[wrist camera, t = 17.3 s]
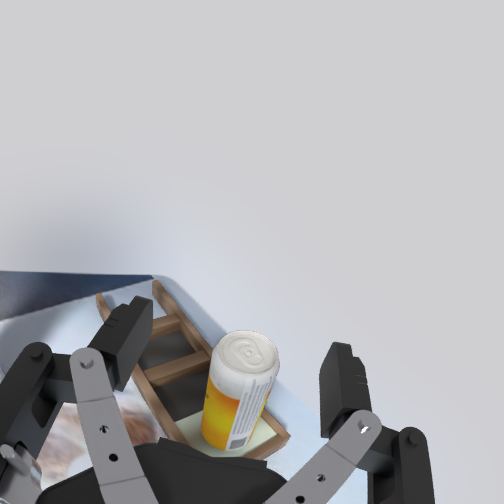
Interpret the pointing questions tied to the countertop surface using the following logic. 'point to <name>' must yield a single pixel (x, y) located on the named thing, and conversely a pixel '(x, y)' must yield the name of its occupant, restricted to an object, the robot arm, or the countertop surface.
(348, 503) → the countertop surface
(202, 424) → the beer can
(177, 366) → the brown wooden flat frame
